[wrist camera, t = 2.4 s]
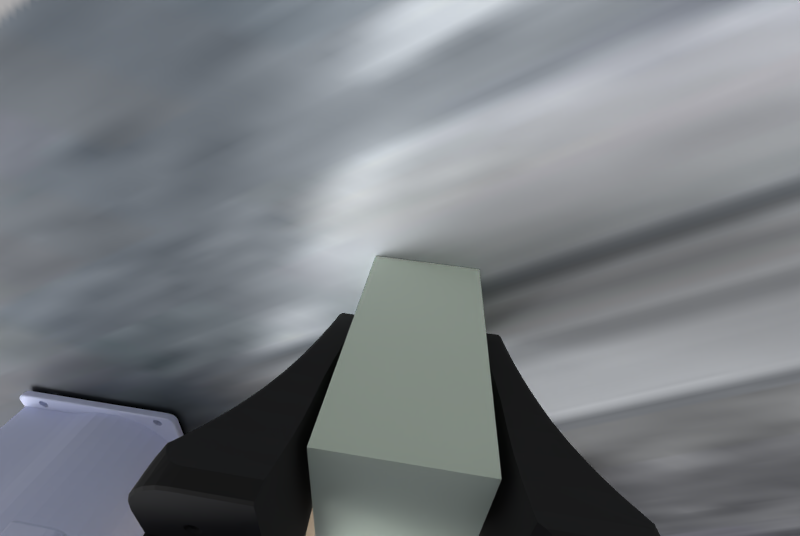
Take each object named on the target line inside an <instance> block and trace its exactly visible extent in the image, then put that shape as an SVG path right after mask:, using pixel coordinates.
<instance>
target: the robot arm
mask: <svg viewBox="0 0 800 536" xmlns="http://www.w3.org/2000/svg"><path fill="white" fill-rule="evenodd" d="M353 318H354V315H352V314H345V313H342V314H340V315H339V316H338V317H337V319H336V320H335V321H334V322H333V323H332V324H331V326H330V327H329V328H328V329H327V330H326V331H325V332H324V334H323V335H322V336H321V337H320V338H319V339H318V340H317V341H316V342H315V343H314V344H313V345H312V346H311V347H310V348H309V349H308V350H307V351H306V352H305V353H304V354H303V355H302V356H301V357H300V358H299V359H298V360H297V361H295V362H294V363H293V364H292V365H291V366H290V367H289V368H288V369H287V370H285V371H284V372H283V373H282V374H281V375H279V376H278V377H277V378H276V379H274V380H273V381H272V382H271V383H269V384H268V385H267V386H265V387H264V388H263V389H261V390H260V391H258V392H257V393H255V394H254V395H253V396H251V397H250V398H248V399H247V400H245V401H244V402H242V403H241V404H239V405H238V406H236V407H234V408H233V409H231V410H229V411H228V412H226V413H224V414H223V415H221V416H219V417H217V418H216V419H214V420H212V421H211V422H209V423H207V424H205V425H203V426H201V427H199V428H197V429H195V430H193V431H191V432H189V433H187V434H185V435H183V432H182V429H181V427H180V424H179V421H178V419H177V418H176V417H175V416H174V415H172V414H169V413H164V412H157V411H151V410H145V409H139V408H133V407H127V406H121V405H114V404H108V403H102V402H96V401H90V400H84V399H78V398H71V397H65V396H59V395H53V394H47V393H41V392H35V391H26V392H24V393H23V394H22V395H21V396H20V400H21V402H22V403H23V404H24V406H25V407H24V408H23V409H22V410H21V411H19V412H18V413H17V414H16V415H15V416H14V417H12V418H11V419H10V420H9V421H8V422H7V423H6V424H4V425H3V426H2V427H1V428H0V536H306V532H307V527H308V523H309V519H310V515H311V511H312V496H311V486H310V475H309V465H308V454H307V445H308V442H309V440H310V437H311V434H312V431H313V429H314V426H315V423H316V420H317V417H318V415H319V412H320V409H321V406H322V404H323V401H324V398H325V395H326V392H327V390H328V387H329V384H330V381H331V379H332V376H333V373H334V370H335V367H336V365H337V362H338V359H339V356H340V354H341V351H342V348H343V345H344V343H345V340H346V337H347V334H348V331H349V329H350V326H351V323H352V320H353ZM486 337H487V346H488V355H489V365H490V374H491V384H492V393H493V402H494V412H495V421H496V431H497V440H498V449H499V459H500V468H501V478H502V480H501V482H500V485H499V487H498V490H497V492H496V494H495V497H494V499H493V502H492V504H491V507H490V509H489V512H488V514H487V517H486V519H485V521H484V524H483V526H482V529H481V531H480V534H479V536H660V534H659V532H658V530H657V528H656V526H655V524H654V523H652V522H651V521H650V520H649V519H648V518H647V517H645V516H644V515H643V514H642V513H641V512H640V511H638V510H637V509H636V508H635V507H634V506H633V505H632V504H630V503H629V502H628V501H627V500H626V499H625V498H623V497H622V496H621V495H620V494H619V493H618V492H617V491H616V490H615V489H614V488H613V487H612V486H610V485H609V484H608V483H607V482H606V481H605V480H604V479H603V478H602V477H601V476H600V475H599V474H598V473H597V472H596V471H595V470H594V469H593V468H592V467H591V466H590V465H589V464H588V463H587V462H586V460H585V459H584V458H583V457H582V456H581V455H580V454H579V453H578V452H577V451H576V450H575V449H574V448H573V447H572V445H571V444H570V443H569V442H568V441H567V440H566V438H565V437H564V436H563V435H562V434H561V432H560V431H559V430H558V429H557V427H556V426H555V425H554V424H553V422H552V421H551V420H550V418H549V417H548V416H547V414H546V413H545V411H544V410H543V409H542V407H541V406H540V404H539V403H538V401H537V400H536V399H535V397H534V396H533V394H532V392H531V391H530V389H529V388H528V386H527V385H526V383H525V381H524V380H523V378H522V376H521V375H520V373H519V371H518V370H517V368H516V366H515V364H514V362H513V361H512V359H511V357H510V355H509V353H508V351H507V349H506V347H505V345H504V343H503V341H502V339H501V337H500V336H499V335H495V334H488V333H486ZM143 534H144V535H143Z"/></svg>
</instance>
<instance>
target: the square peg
mask: <svg viewBox="0 0 800 536" xmlns="http://www.w3.org/2000/svg"><path fill="white" fill-rule="evenodd" d="M307 454H308V465H309V475H310V486H311V496H312V507H313V517H314V528H315V536H479V534H480V531H481V529H482V526H483V524H484V521H485V519H486V517H487V514H488V512H489V509H490V507H491V504H492V502H493V499H494V497H495V494H496V492H497V490H498V487H499V485H500V482H501V480H502V478H501V468H500V459H499V449H498V440H497V431H496V421H495V412H494V402H493V393H492V384H491V374H490V365H489V355H488V346H487V337H486V327H485V318H484V308H483V299H482V289H481V280H480V271H479V269H473V268H466V267H458V266H450V265H443V264H435V263H427V262H420V261H412V260H404V259H397V258H389V257H381V256H376V257H375V259H374V262H373V265H372V268H371V270H370V273H369V276H368V279H367V282H366V284H365V287H364V290H363V293H362V295H361V298H360V301H359V304H358V306H357V309H356V312H355V315H354V318H353V320H352V323H351V326H350V329H349V331H348V334H347V337H346V340H345V343H344V345H343V348H342V351H341V354H340V356H339V359H338V362H337V365H336V367H335V370H334V373H333V376H332V379H331V381H330V384H329V387H328V390H327V392H326V395H325V398H324V401H323V404H322V406H321V409H320V412H319V415H318V417H317V420H316V423H315V426H314V429H313V431H312V434H311V437H310V440H309V442H308V445H307Z"/></svg>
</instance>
